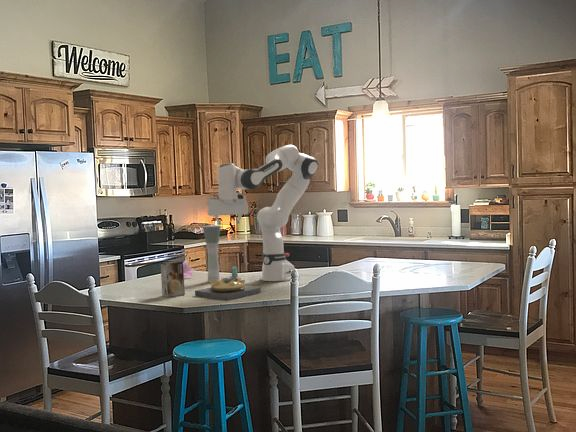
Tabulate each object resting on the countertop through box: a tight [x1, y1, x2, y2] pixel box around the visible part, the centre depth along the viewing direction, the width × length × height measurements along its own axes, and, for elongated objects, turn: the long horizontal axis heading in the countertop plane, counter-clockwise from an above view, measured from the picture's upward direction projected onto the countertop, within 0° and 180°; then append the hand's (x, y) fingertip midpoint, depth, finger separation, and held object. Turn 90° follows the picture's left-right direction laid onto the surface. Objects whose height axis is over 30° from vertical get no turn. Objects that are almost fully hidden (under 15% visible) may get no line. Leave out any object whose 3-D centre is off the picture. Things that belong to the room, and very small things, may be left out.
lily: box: [183, 259, 195, 280], centre depth 367 cm, size 12×12×10 cm
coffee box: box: [160, 260, 186, 298], centre depth 312 cm, size 9×6×16 cm
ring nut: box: [210, 266, 246, 291], centre depth 314 cm, size 24×16×8 cm
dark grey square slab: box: [194, 285, 262, 301], centre depth 310 cm, size 22×22×3 cm
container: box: [202, 225, 222, 284], centre depth 350 cm, size 10×10×30 cm
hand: (228, 224), depth 322 cm, fingers open, 8 cm apart
